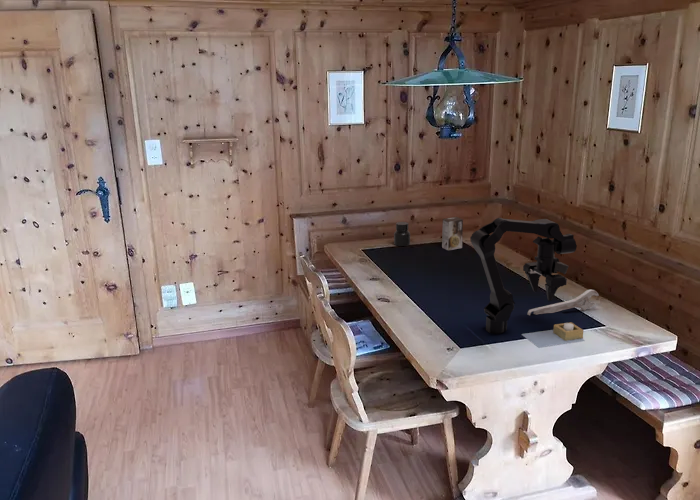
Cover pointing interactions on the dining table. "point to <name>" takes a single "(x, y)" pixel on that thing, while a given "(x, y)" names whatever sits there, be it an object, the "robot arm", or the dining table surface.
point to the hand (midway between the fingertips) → (542, 296)
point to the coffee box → (452, 233)
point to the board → (549, 337)
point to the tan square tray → (568, 332)
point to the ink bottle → (402, 234)
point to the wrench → (568, 304)
